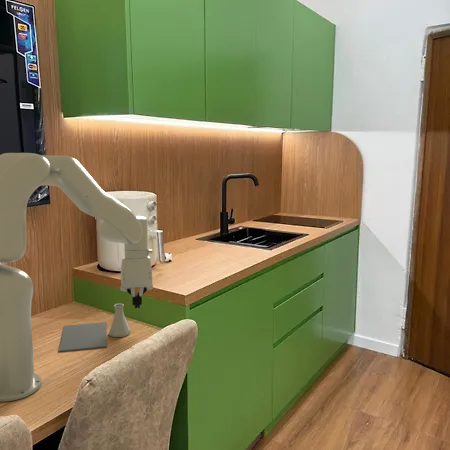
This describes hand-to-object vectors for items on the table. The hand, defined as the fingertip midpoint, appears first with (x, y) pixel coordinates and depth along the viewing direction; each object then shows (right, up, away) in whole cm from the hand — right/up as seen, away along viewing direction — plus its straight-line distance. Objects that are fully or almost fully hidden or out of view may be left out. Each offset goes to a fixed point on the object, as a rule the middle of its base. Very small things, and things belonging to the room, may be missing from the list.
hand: (137, 306), depth 144 cm
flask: (-6, -9, 0) cm, 11 cm away
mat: (-17, -9, -3) cm, 19 cm away
